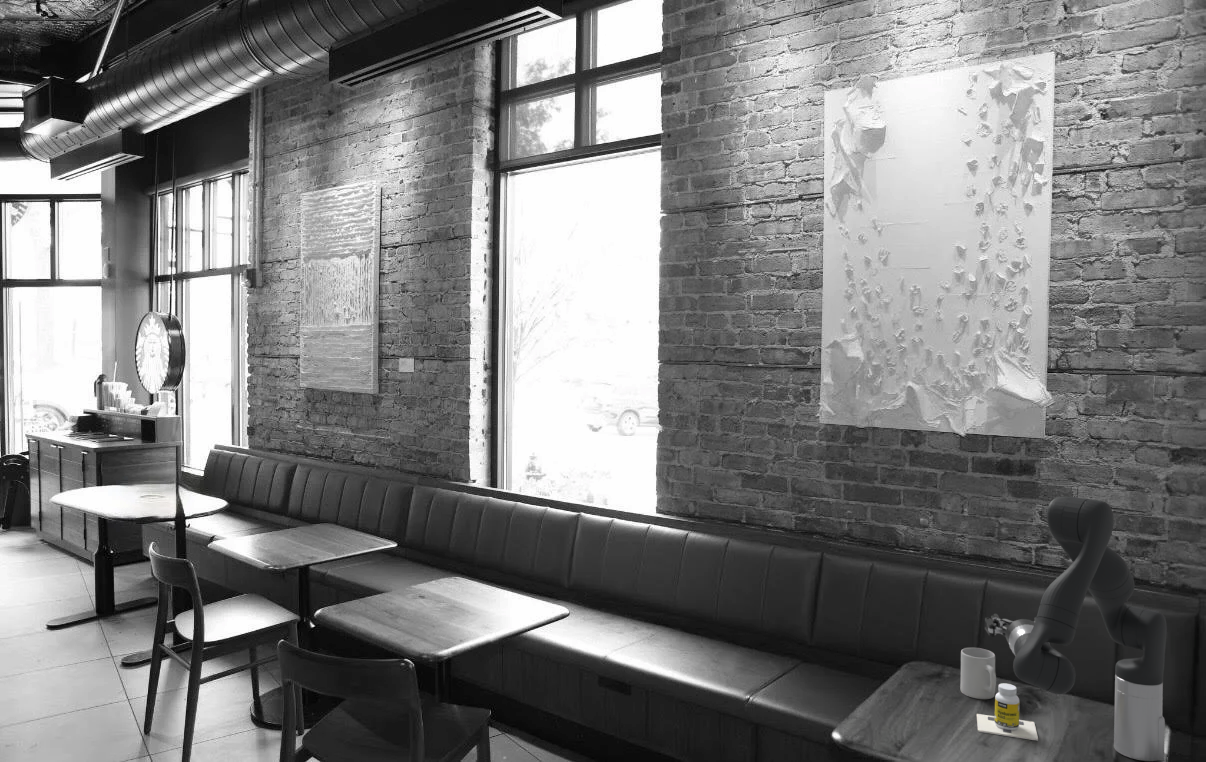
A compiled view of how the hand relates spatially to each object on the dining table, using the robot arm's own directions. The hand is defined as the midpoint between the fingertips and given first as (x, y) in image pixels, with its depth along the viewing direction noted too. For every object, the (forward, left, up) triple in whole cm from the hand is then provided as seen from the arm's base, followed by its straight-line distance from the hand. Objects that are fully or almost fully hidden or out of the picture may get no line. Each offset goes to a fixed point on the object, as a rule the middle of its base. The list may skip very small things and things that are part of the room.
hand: (1015, 619), depth 195 cm
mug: (+6, -30, -30) cm, 43 cm away
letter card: (+1, -11, -30) cm, 32 cm away
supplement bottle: (+1, -11, -30) cm, 32 cm away
